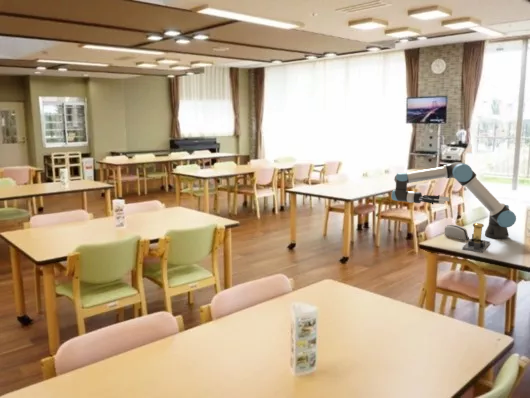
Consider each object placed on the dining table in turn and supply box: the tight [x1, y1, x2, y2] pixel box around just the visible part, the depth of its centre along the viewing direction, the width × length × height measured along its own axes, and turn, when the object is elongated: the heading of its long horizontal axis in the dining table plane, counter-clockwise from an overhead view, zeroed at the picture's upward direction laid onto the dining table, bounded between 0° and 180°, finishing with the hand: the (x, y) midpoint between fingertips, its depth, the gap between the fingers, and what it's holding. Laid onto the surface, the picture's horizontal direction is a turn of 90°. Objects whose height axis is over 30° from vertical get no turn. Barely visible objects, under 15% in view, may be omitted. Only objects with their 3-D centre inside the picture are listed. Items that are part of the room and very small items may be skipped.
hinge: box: [444, 224, 470, 241], centre depth 337 cm, size 17×5×10 cm, turn 35°
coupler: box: [472, 222, 485, 243], centre depth 314 cm, size 6×6×14 cm
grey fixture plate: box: [462, 233, 491, 253], centre depth 315 cm, size 27×12×5 cm, turn 147°
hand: (446, 200), depth 320 cm, fingers open, 13 cm apart
